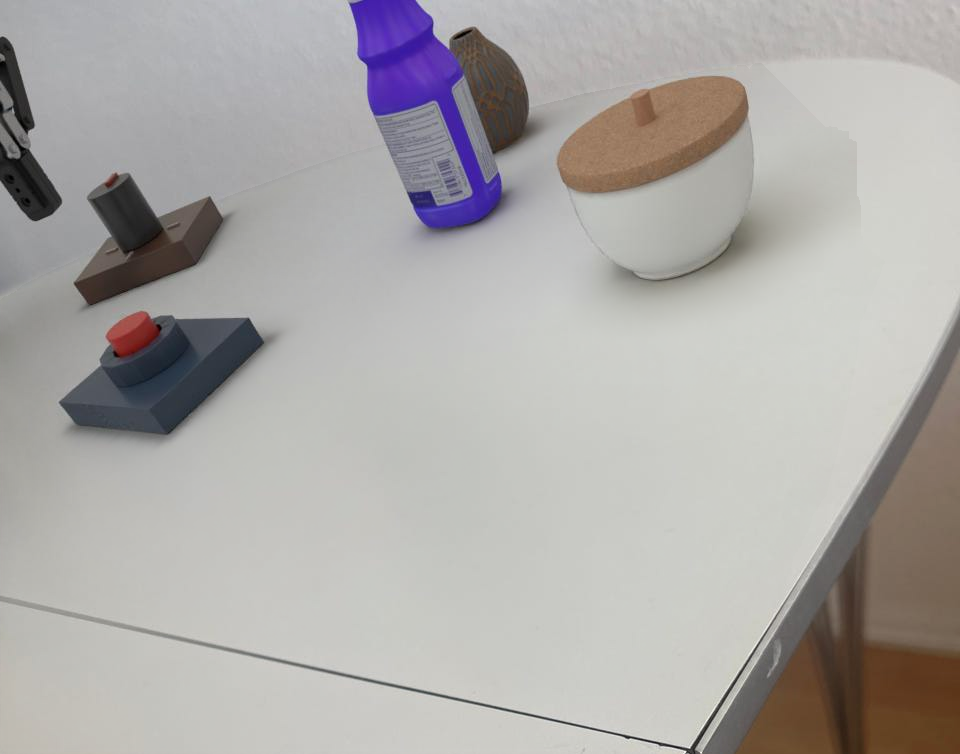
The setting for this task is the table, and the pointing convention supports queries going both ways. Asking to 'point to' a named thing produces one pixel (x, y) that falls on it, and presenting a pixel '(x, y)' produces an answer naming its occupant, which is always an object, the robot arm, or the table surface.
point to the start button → (132, 333)
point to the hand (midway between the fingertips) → (48, 213)
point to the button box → (162, 375)
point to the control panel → (151, 253)
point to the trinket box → (663, 175)
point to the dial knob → (125, 212)
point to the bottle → (425, 114)
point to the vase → (492, 86)
